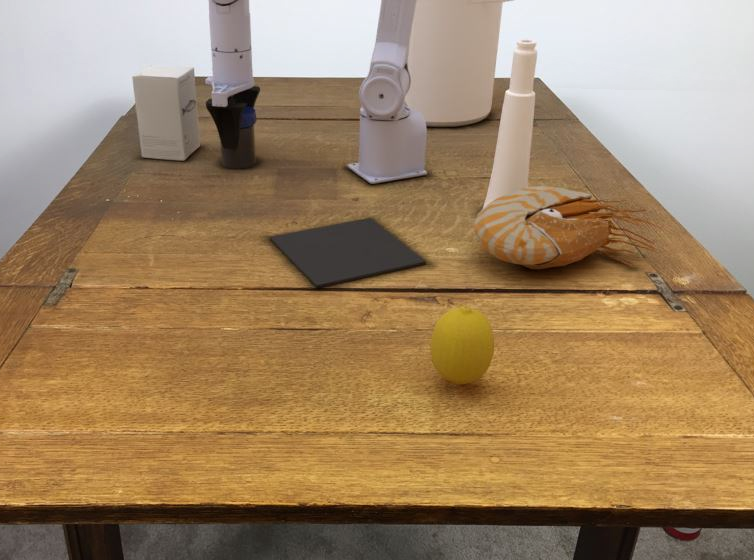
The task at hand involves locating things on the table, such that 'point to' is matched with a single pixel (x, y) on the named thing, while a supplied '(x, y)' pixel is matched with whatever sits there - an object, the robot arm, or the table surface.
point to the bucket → (453, 60)
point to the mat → (346, 252)
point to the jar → (241, 151)
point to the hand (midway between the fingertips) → (236, 141)
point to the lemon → (462, 345)
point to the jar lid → (248, 117)
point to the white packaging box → (167, 112)
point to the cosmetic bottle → (515, 126)
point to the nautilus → (548, 227)
